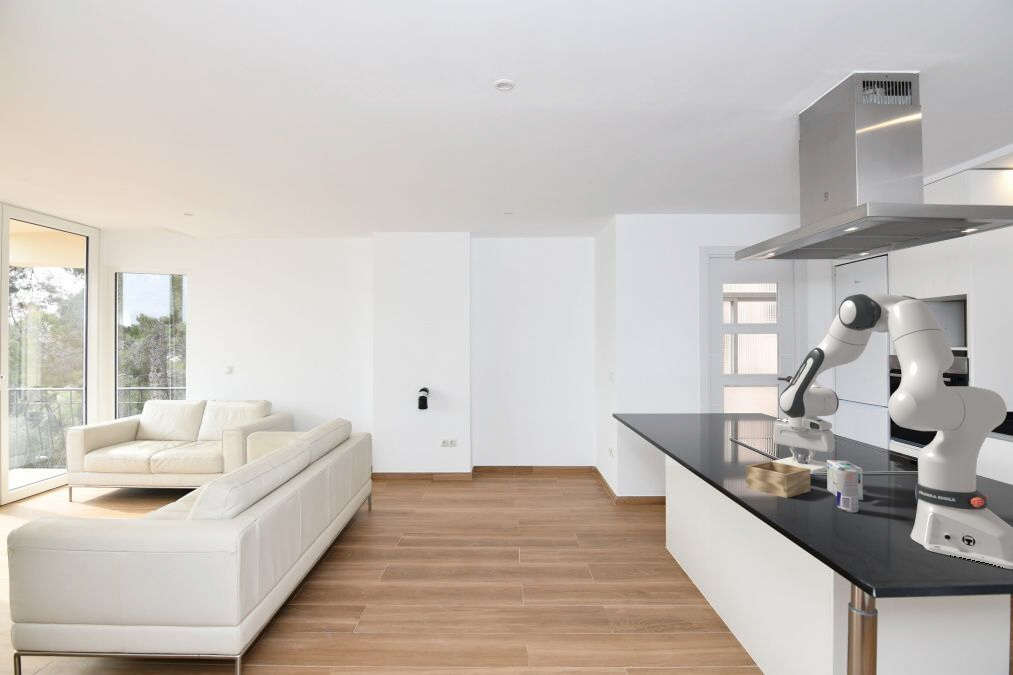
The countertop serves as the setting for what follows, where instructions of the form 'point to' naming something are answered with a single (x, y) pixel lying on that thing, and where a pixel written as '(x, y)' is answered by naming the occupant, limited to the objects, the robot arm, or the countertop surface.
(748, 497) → the countertop surface
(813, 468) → the lid
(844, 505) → the energy drink
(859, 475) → the light bulb box
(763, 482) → the box
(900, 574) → the countertop surface
